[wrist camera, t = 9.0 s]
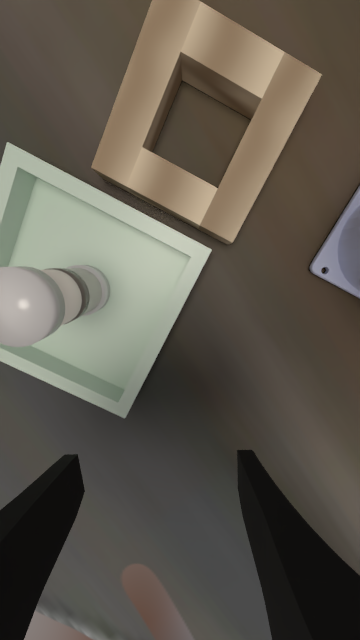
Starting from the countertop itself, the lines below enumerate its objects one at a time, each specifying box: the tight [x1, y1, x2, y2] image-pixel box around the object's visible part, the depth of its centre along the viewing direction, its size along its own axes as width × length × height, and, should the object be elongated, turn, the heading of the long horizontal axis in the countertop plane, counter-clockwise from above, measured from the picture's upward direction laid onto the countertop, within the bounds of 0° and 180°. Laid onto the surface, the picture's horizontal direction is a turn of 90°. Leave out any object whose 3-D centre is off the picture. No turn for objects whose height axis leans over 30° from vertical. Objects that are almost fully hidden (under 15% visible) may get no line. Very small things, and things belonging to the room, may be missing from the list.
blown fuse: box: [0, 265, 110, 347], centre depth 15 cm, size 4×4×8 cm
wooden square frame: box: [91, 0, 322, 245], centre depth 15 cm, size 10×10×2 cm
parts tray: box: [0, 142, 212, 418], centre depth 18 cm, size 14×14×2 cm
